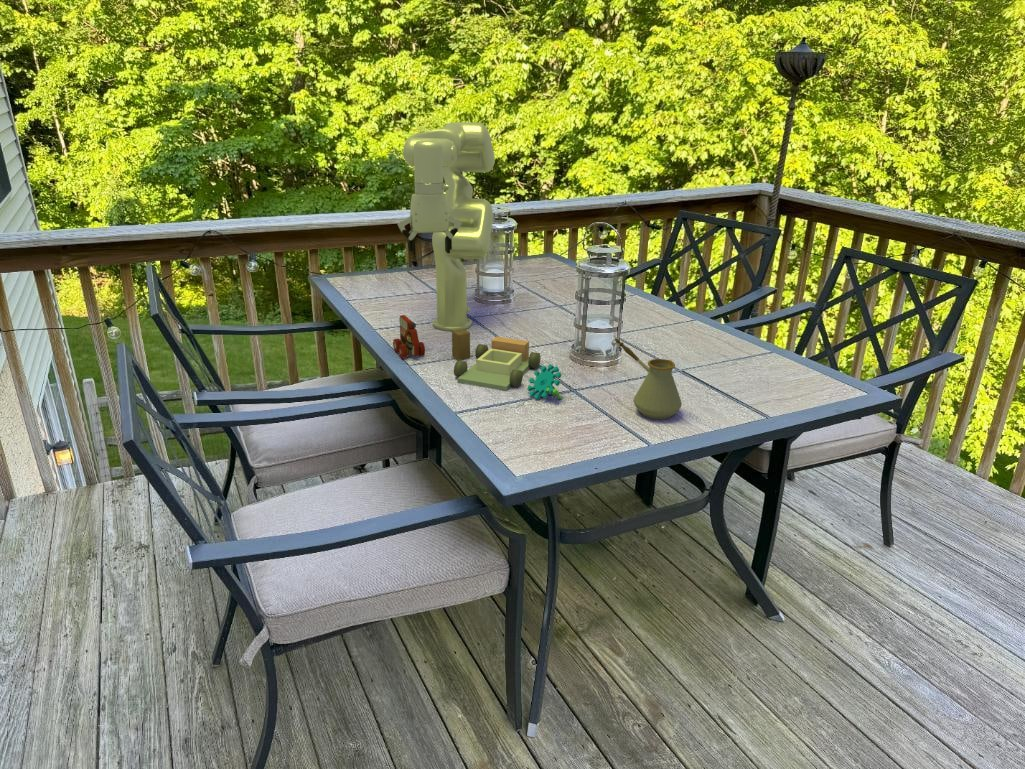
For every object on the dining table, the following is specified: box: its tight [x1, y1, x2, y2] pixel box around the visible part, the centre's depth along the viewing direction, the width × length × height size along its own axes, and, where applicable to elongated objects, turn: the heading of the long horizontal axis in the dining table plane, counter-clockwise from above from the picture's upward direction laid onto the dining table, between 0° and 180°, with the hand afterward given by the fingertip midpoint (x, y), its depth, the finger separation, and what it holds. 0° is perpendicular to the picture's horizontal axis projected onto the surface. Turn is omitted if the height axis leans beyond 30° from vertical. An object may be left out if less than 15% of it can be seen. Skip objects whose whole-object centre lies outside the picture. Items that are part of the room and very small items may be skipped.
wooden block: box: [451, 329, 471, 361], centre depth 209 cm, size 4×4×8 cm
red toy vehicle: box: [392, 314, 426, 359], centre depth 211 cm, size 7×12×10 cm, turn 26°
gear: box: [526, 363, 563, 401], centre depth 186 cm, size 11×6×10 cm
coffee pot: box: [611, 337, 683, 420], centre depth 179 cm, size 21×12×15 cm, turn 39°
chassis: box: [453, 335, 542, 392], centre depth 200 cm, size 22×18×6 cm
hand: (430, 253), depth 202 cm, fingers open, 9 cm apart
